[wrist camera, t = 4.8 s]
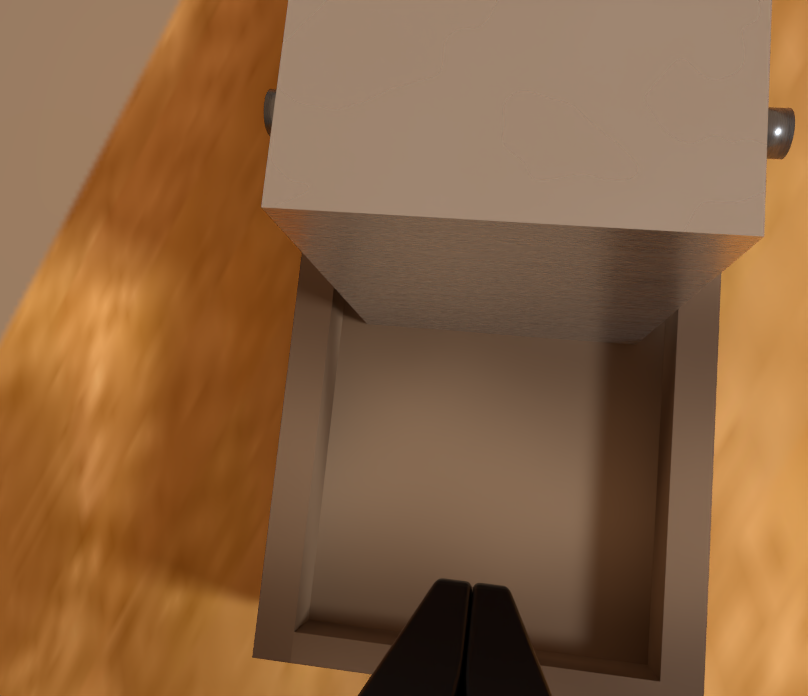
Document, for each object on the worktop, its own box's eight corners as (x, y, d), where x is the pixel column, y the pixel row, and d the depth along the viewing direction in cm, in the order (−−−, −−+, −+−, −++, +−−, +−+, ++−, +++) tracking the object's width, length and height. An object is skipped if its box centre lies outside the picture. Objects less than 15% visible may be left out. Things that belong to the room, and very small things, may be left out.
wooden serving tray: (669, 680, 17) (702, 721, 14) (288, 628, 18) (252, 657, 15) (717, -321, 20) (750, -439, 18) (397, -310, 22) (384, -419, 19)
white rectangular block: (635, 345, 16) (763, 236, 9) (367, 324, 17) (261, 207, 9) (649, 89, 17) (780, -223, 9) (394, 80, 18) (316, -214, 10)
